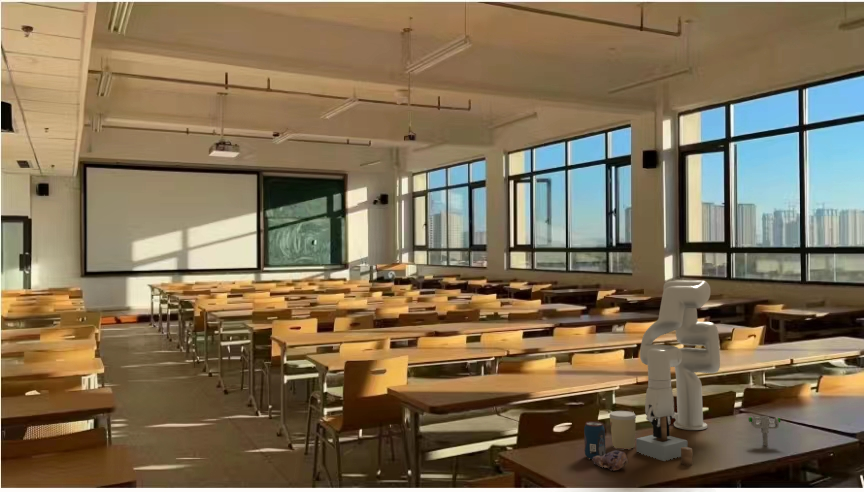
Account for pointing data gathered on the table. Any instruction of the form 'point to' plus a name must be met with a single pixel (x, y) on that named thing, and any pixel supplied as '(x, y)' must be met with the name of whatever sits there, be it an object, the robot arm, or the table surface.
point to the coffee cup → (623, 429)
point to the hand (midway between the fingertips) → (661, 435)
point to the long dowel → (663, 429)
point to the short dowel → (686, 456)
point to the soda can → (594, 439)
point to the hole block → (660, 447)
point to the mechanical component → (764, 425)
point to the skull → (611, 460)
